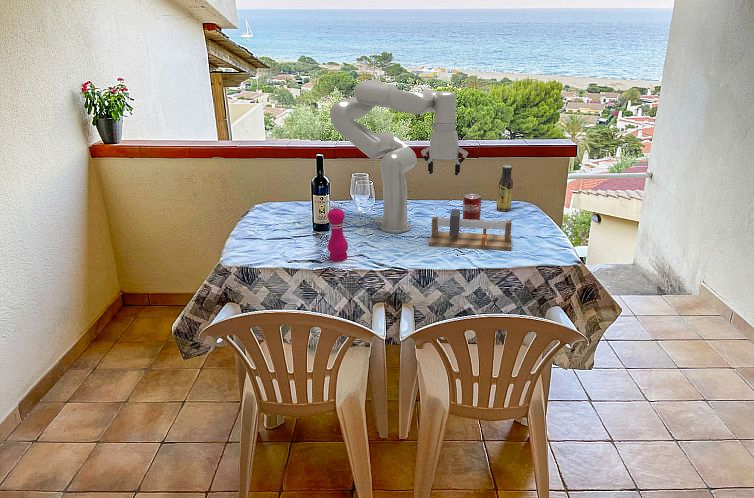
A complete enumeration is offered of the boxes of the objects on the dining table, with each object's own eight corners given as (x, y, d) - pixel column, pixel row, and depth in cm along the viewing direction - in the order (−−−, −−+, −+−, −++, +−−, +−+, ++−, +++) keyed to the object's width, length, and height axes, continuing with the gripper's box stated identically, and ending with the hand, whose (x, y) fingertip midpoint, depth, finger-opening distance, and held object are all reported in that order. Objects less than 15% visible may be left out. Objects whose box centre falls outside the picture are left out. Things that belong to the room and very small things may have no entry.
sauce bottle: (493, 208, 233) (496, 165, 226) (506, 207, 235) (509, 163, 227) (501, 212, 227) (504, 168, 220) (513, 211, 229) (517, 166, 222)
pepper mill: (348, 254, 189) (346, 201, 181) (348, 261, 182) (345, 207, 174) (328, 254, 188) (325, 202, 181) (327, 262, 182) (324, 208, 174)
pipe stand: (428, 245, 194) (428, 223, 190) (432, 234, 205) (433, 212, 201) (511, 250, 187) (513, 227, 184) (511, 239, 198) (512, 216, 195)
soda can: (479, 227, 211) (481, 199, 207) (461, 226, 213) (462, 198, 208) (480, 221, 218) (481, 193, 213) (462, 220, 219) (463, 193, 215)
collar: (449, 236, 193) (450, 215, 190) (451, 229, 200) (452, 209, 197) (457, 236, 192) (458, 216, 189) (459, 229, 199) (460, 209, 196)
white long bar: (437, 226, 195) (437, 220, 194) (437, 223, 197) (438, 217, 196) (505, 229, 190) (505, 223, 189) (505, 227, 192) (505, 221, 191)
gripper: (418, 128, 186) (418, 175, 193) (466, 129, 181) (465, 177, 187) (423, 125, 193) (423, 170, 199) (470, 126, 187) (468, 172, 194)
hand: (443, 173), depth 193 cm, fingers open, 9 cm apart
